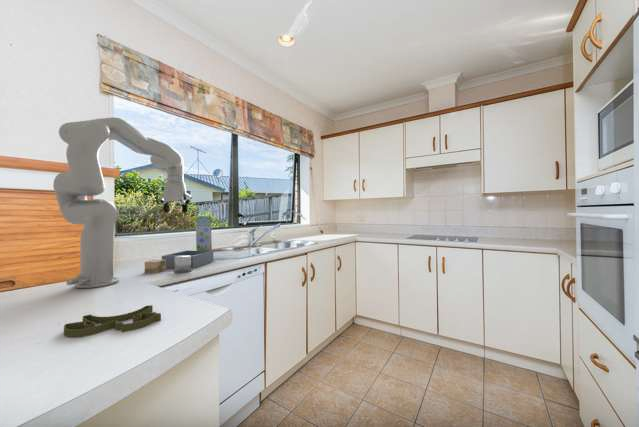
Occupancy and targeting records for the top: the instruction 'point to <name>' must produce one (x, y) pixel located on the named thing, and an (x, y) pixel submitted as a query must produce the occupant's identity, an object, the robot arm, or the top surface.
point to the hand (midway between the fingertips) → (175, 212)
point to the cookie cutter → (112, 323)
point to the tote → (196, 258)
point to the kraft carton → (155, 266)
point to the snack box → (203, 233)
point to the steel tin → (182, 264)
